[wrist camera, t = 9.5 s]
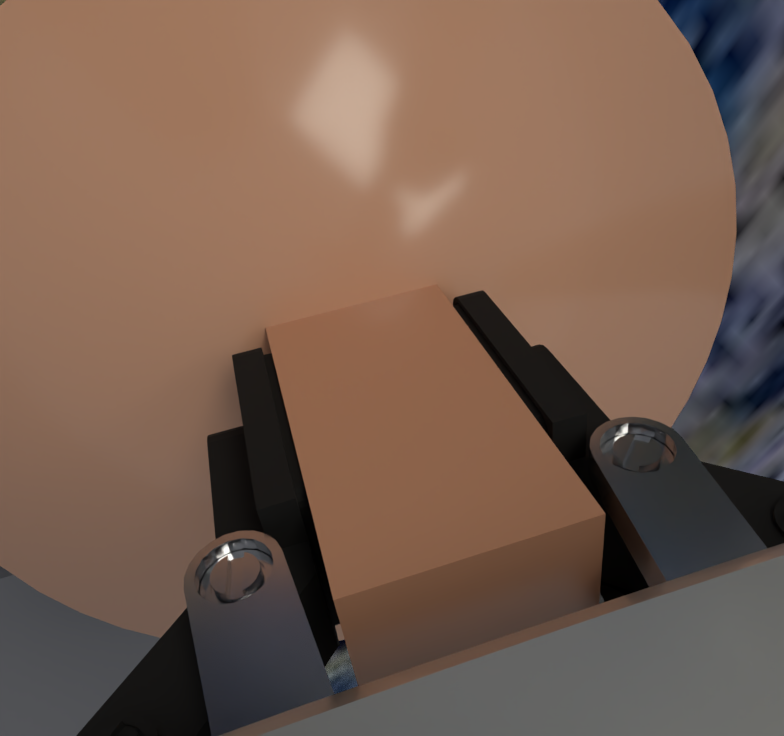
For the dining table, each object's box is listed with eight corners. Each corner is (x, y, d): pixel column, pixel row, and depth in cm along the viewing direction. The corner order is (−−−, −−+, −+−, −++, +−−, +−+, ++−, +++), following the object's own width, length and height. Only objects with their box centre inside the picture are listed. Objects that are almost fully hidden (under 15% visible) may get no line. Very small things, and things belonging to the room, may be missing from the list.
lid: (-388, -25, 8) (-1499, 110, 3) (768, -205, 11) (1432, -328, 5) (102, 688, 18) (74, 1053, 12) (665, 507, 20) (863, 741, 14)
